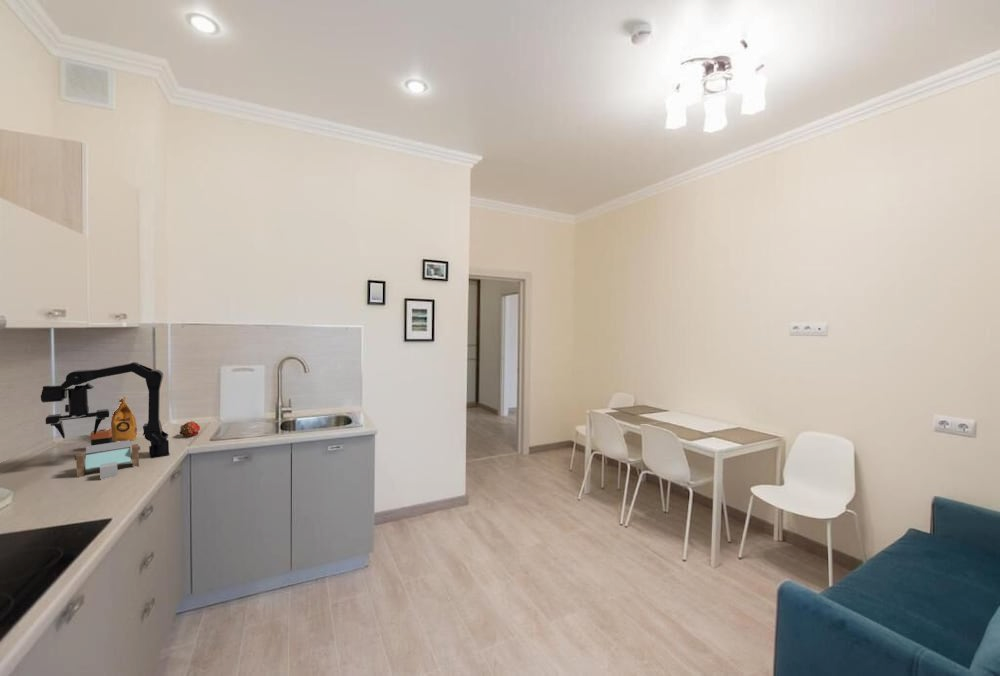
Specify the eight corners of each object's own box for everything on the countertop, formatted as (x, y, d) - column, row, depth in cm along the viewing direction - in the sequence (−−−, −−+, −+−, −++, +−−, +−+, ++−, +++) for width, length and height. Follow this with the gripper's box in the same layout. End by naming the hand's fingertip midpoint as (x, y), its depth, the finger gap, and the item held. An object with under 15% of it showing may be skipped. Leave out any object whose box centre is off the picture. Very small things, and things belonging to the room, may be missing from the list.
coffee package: (110, 444, 205) (108, 400, 204) (112, 438, 215) (110, 396, 214) (136, 440, 212) (135, 398, 210) (137, 434, 221) (136, 394, 220)
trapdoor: (130, 443, 181) (130, 440, 180) (131, 465, 176) (130, 461, 174) (86, 450, 172) (85, 446, 170) (86, 472, 167) (85, 469, 165)
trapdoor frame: (140, 462, 181) (139, 443, 180) (140, 465, 177) (140, 446, 177) (75, 474, 167) (75, 453, 167) (74, 477, 164) (74, 456, 163)
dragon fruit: (186, 442, 214) (190, 439, 225) (202, 431, 218) (205, 428, 229) (174, 430, 213) (178, 428, 223) (190, 419, 216) (194, 417, 227)
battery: (93, 449, 198) (92, 428, 197) (112, 446, 201) (112, 426, 201) (91, 451, 194) (90, 430, 193) (110, 449, 198) (109, 428, 197)
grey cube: (117, 465, 165) (117, 477, 165) (117, 461, 168) (117, 473, 169) (99, 468, 161) (100, 480, 162) (100, 464, 165) (100, 476, 165)
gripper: (108, 394, 187) (110, 428, 187) (48, 399, 174) (49, 436, 175) (108, 398, 178) (109, 433, 179) (44, 404, 166) (46, 442, 167)
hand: (79, 436), depth 175 cm, fingers open, 9 cm apart
